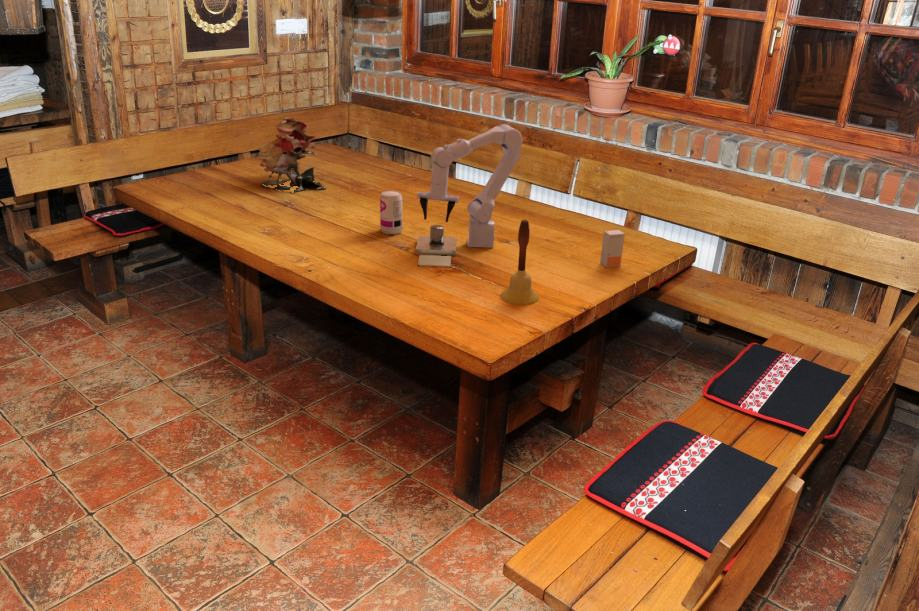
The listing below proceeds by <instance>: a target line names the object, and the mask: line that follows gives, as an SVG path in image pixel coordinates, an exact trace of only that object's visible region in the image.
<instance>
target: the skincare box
mask: <svg viewBox="0 0 919 611" xmlns="http://www.w3.org/2000/svg"><path fill="white" fill-rule="evenodd" d="M625 234H626V233H624V232H623V231H621V230H620V229H615V230H614V229H613V230H604V231H603V237H602V238H603V239H602V243H601V244H602V246H601V252H600V261H599V263H600V265H602V266H603V267H604V268H612V267H613V268H614V267H621V263H622V256H623V249H624V242H625V237H626V236H625Z"/></svg>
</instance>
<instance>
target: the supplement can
mask: <svg viewBox="0 0 919 611" xmlns="http://www.w3.org/2000/svg"><path fill="white" fill-rule="evenodd" d="M379 222H380V225H379V226H380V232H381V233H382V232H383V233H382V234H384V233H386V234H385V235H388V234H394V235H398V233H399V234H400V233H401V232H403V196H402V194H401V192H400V191H397V190H384V191H382V192H381V194H380V196H379Z"/></svg>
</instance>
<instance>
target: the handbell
mask: <svg viewBox="0 0 919 611" xmlns="http://www.w3.org/2000/svg"><path fill="white" fill-rule="evenodd" d="M518 227H519V228H518V233H517V235H518V236H517V241H518V246H519V247H518V249H519V252H518V263H517V265H518V266H517V267H518V268H517V271H516V272H514V273H512V274H511V276H510V278H509V286H508V287H507V288H506V289H504V290H503V291H502V292H500V295H499V297H500V299H501V300H502V301H503V302H505V303H507V304H509V305H516V306H529V305H533V304H536V303H537V302H538V301H539V300H540V295H539V294H538V292H536V291H535V290H534V289H533V288H532V276H531V275H530V274H529V273H527V272H526V261H527V260H526V258H527V249H528V245H529V242H530V224H529V220H527V219H523V220H521V221H520V224H519V226H518Z"/></svg>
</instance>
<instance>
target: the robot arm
mask: <svg viewBox="0 0 919 611" xmlns="http://www.w3.org/2000/svg"><path fill="white" fill-rule="evenodd" d="M523 141H524V140H523V136H522V134H521V132H520V130H519V129H515V128H513V127H512V126H510V125H509V124H506V123H502V124H500V125H497V126H494V127H492V128H491V129H489V130H486V131H485V132H483V133H480V134H479V135H476V136H475V137H473V138H470V139H469V140H467V139H465V138H458V139H456V141H455V142H454V141H453V142H452V143H450V144H444V145H443V147H441V146H438V147H436V148H434V150H433V151H432V153H431V154H430V159H431V161H432V168H431V178H430V191H429V192H426V191H421V192H420V191H418V192H417V196H416V199H418V200H419V203H420V206H421V209H422V213H423V220H424V221H425V220H427V217H428V206H429V205H428V204H429V200H430V201H431V200H432V201H441V202H447V207H446V216H445V223H448V222H449V218H450V215H451V213H452V211H453V209H454V207H455V206H456V204H459V200H460V196H458V195H457V196H456V195H451V194H448V182H449V171H450V170H449V168H450V166H451V165H452V163H453V162H455V161H457V160H459V159H462V158H464V157H466V156H469V155H471V151H473V150H475V149H478V148H481V147H483V146H486V145H489V144H491V143H495V144H499V145H500V146H501V148H502V152H503V155H502V157H501V158H500V160H499V162H497V165H496V167H495V169H494V170H493V172H492V174H491V176H490V178H489V179H488V181H487V182H486V183H485V186H484V188H483V189H482V191H481V192H480V193H477V195H475V198H473V199H472V200H471V201H469V203H468V204H467V213H468V214H469V215H470V216H469V219H468V220H469V221H468V222H469V223H468V237H467V247H468V248H488V249H489V248H491V249H492V248H494V244H495V239H496V238H495V236H496V235H495V221H494V220H491V219H492V216H493V212H494V209H495V208H496V207H495V206H496V205H495V204H496V203H495V200H496V198H497V197H498V195H499V193H500V191H501V190H502V188H503V186H504V185H505V183H506V181H507V179H508V178H509V177H510V175H511V174H512V171H513V170H514V168H515V166H516V164H517V163H518V161H519V159H520V157H521V150H522V144H523Z"/></svg>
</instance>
